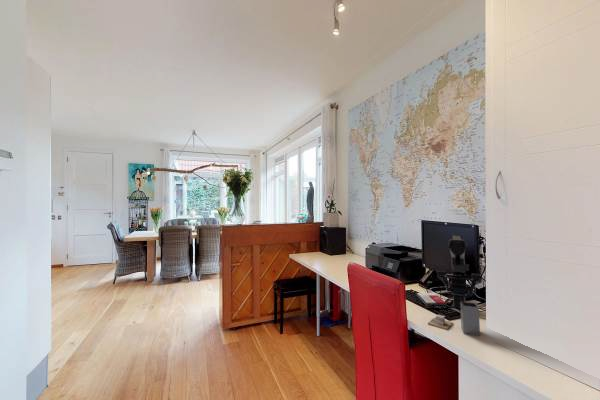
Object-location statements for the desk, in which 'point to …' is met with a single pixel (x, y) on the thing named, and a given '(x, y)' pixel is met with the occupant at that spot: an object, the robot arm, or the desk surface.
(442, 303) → the calculator
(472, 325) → the socket sleeve
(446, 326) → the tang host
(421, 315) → the desk surface
